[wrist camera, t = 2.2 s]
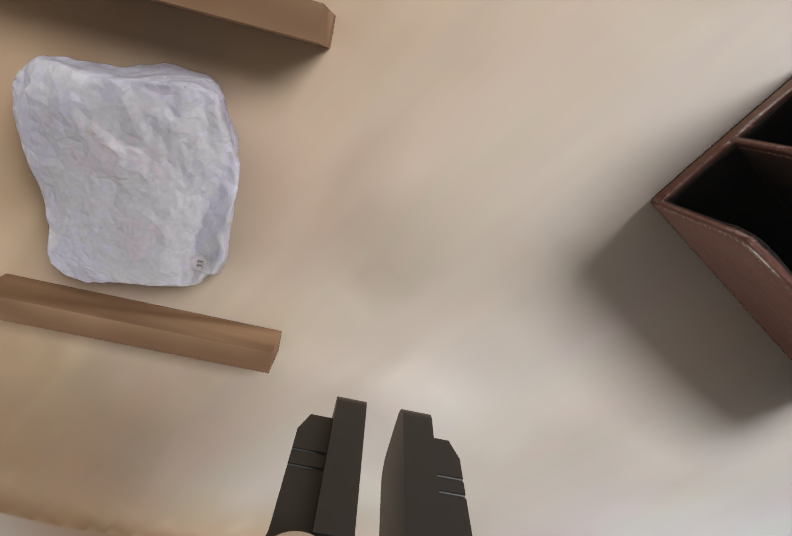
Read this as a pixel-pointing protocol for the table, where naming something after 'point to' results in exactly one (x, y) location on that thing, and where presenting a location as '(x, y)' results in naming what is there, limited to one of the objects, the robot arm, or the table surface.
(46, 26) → the table surface
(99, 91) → the stone block
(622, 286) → the table surface
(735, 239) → the letter holder
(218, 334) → the pair of wooden bars
